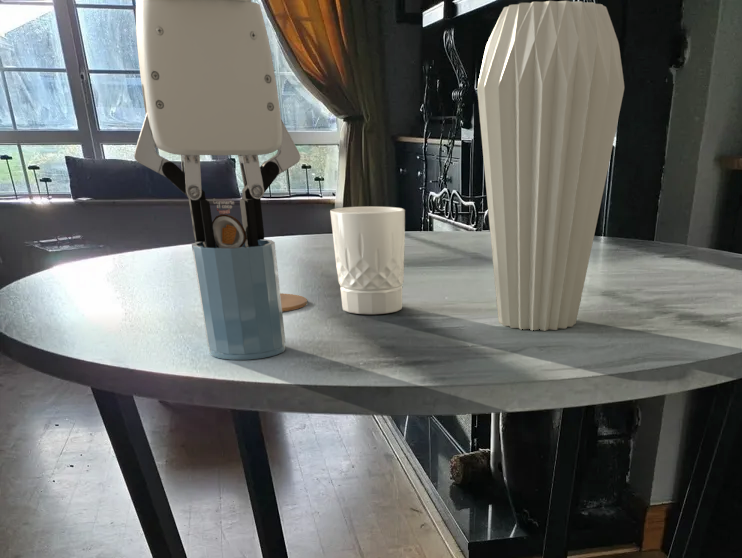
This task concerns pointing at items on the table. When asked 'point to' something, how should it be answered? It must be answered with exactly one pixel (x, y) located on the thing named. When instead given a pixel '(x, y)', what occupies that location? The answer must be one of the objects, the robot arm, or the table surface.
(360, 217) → the white cup
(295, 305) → the cork coaster
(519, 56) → the vase
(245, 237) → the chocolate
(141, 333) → the table surface
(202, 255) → the tumbler
